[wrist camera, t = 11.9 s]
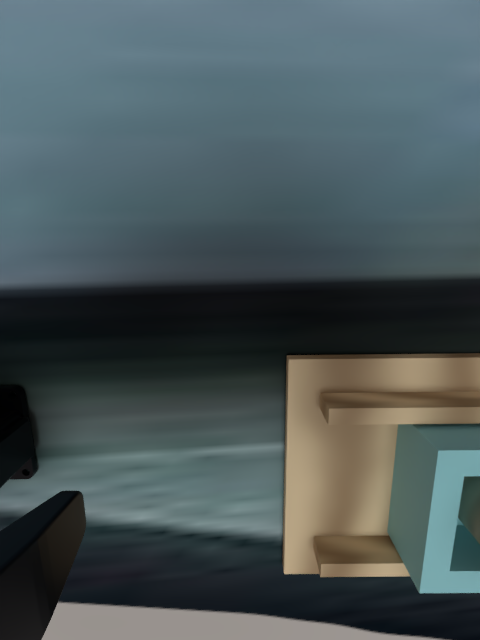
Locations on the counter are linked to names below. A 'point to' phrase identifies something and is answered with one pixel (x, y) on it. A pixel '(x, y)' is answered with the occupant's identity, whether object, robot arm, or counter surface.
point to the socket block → (435, 506)
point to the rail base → (359, 450)
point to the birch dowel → (471, 505)
